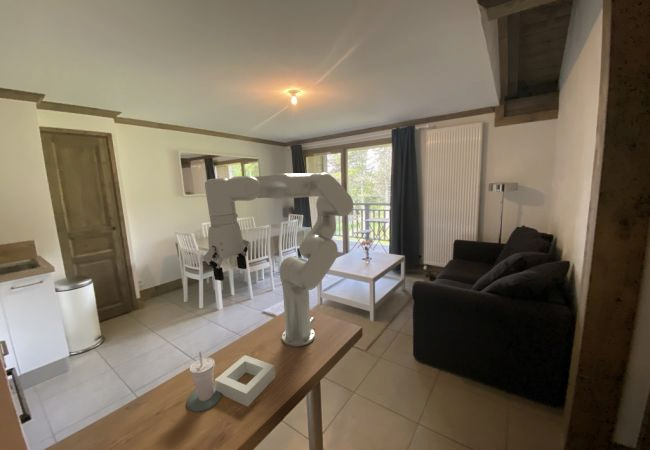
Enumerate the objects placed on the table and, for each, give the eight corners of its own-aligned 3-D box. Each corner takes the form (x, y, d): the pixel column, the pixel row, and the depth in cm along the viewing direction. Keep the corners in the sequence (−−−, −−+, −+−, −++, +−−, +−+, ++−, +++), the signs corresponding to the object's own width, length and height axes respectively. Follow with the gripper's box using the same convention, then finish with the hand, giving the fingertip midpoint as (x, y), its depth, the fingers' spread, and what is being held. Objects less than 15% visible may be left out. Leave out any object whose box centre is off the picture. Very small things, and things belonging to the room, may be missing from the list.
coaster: (207, 382, 81) (207, 380, 81) (228, 392, 77) (228, 390, 77) (179, 404, 73) (179, 402, 73) (202, 417, 69) (201, 415, 69)
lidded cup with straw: (191, 407, 71) (184, 360, 69) (195, 389, 77) (190, 345, 75) (216, 401, 73) (211, 355, 71) (219, 384, 79) (214, 341, 77)
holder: (245, 365, 88) (244, 354, 87) (275, 377, 82) (274, 365, 81) (216, 391, 77) (214, 379, 76) (247, 406, 72) (246, 393, 71)
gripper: (235, 215, 89) (241, 263, 93) (190, 225, 74) (199, 283, 77) (252, 215, 86) (258, 265, 89) (209, 226, 71) (218, 286, 74)
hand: (231, 273), depth 83 cm, fingers open, 9 cm apart
